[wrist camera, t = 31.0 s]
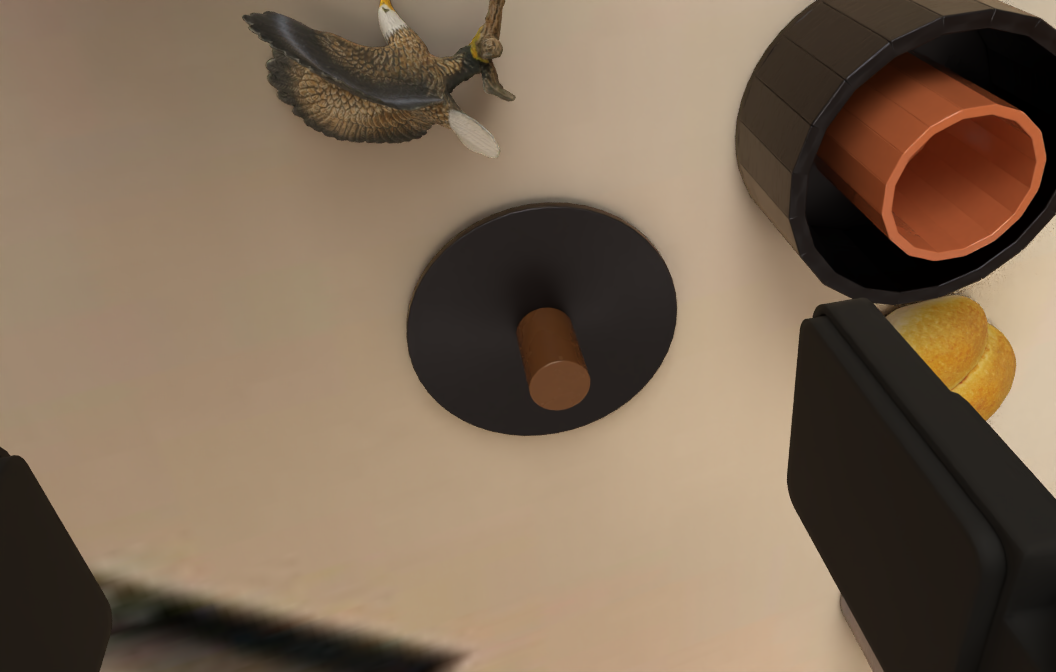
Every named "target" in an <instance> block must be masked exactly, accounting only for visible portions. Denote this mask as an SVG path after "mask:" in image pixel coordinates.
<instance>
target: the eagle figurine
mask: <svg viewBox="0 0 1056 672" xmlns="http://www.w3.org/2000/svg"><path fill="white" fill-rule="evenodd" d="M504 4H505V0H490V1H489V9H488V13H487V16H486V18H485V20H486V23H485V24H484V25H483V26H482V27H480V28H479V30H478V32H477V34H476V35H475V37H474V38H473V39H472V42H471V43H470V44H469V45H468V46H465V47H464V48H461V49H460V50H459V51H458V52H457V53H456V54H455V55H454V56H451V57H443V58H439V57H435V56H433V55H431V54H430V53H429V52H428V49H427V47H426V46H425V44H424V43H423V41H422V40H421V39H420V38H419V36H418V35H417V34H416V33H415V32H414V31H413V30H411V28H410V27H409V26H408V25H407V24H406V23H405V22H404V21H403V20H402V19H401V18H400V17H399V16H398V14H397V13H396V12H395V10H394V9H393V8H392V6H391V3H390V0H381V1H380V7H379V9H378V18H379V26H380V29H381V31H382V34H383V36H384V39H385V41H386V44H387V46H383V47H367V46H362V45H358V44H356V43H353V42H351V41H348V40H346V39H344V38H342V37H340V36H337V35H335V34H332V33H328V32H323V31H317V30H313V29H310V28H308V27H307V26H306V25H304V24H302V23H301V22H298V21H296V20H294V19H292V18H289V17H287V16H284V15H282V14H278V13H276V12H270V11H266V12H264V13H263V14H260V13H251V14H250V15H243V16H242V18H243V20H244V21H245V22H246V23H248V24H249V27H248V28H249V30H251V31H252V32H253V33H255V34H257V35H258V38H259V39H261V40H263V41H265V42H268V43H269V44H270V47H271V48H272V54H273V57H274V59H271V60H269V61H268V62H267V63H266V68H267V69H268V70H269V71H270V74H269V75H268V76H267V79H268V81H269V83H270V84H271V85H272V86H274V87H275V88H276V89H277V90H278V92H277V97H278V98H279V99H280V100H281V101H282V102H284V103H286V104H289V105H292V106H294V108H293V110H292V112H293V113H294V114H295V115H296V116H299V117H302V118H303V119H304V120H303V121H304V123H305V124H306V125H307V126H310V127H312V128H313V129H314V130H316V131H318V132H323V134H324V135H325V136H328V137H335V138H336V139H337V140H341V141H344V140H348V141H351V142H359V143H360V142H364V141H366V142H367V143H384V142H387V143H402V142H409V141H411V140H412V139H419V138H421V137H422V135H425V134H427V130H429V129H430V128H431V127H432V125H434V124H438V125H441V126H443V127H445V128H448V129H451V130H452V131H454V132H455V133H456V135H457V136H458V138H459V139H460V141H461V142H462V143H463V144H464V145H465V146H466V147H467V148H468V149H470V150H471V151H473V152H477V153H480V154H482V155H485V156H487V157H489V158H491V157H492V158H498V155H499V154H500V147H499V145H498V143H497V142H496V140H495V139H494V136H493V135H492V134H491V133H490V132H489V131H488V130H487V129H486V128H484V127H483V126H482V125H481V124H480V123H478V122H477V121H476V120H475V119H473V118H472V117H471V116H469V115H467V114H465V113H464V112H463V111H462V110H461V109H460V107H459V106H458V105H457V104H456V102H455V101H454V99H453V98H452V97H451V95H450V93H452V91H453V89H454V88H455V87H456V86H457V85H459V84H460V83H462V82H463V81H467V80H468V79H469V78H471V77H473V76H474V75H475V74H480V73H482V78H483V88H484V91H485V92H486V93H488V94H493V95H495V96H497V97H499V98H501V99H503V100H506V101H513V100H515V98H516V97H515V96H514V95H513V94H511V93H510V92H508V91H506V90H505V89H503V86H502V85H501V84H500V83H499V81H498V75H497V73H496V70H495V67H494V64H493V62H492V59H493V58H497V57H500V56H501V54H502V51H503V47H502V45H501V43H500V42H499V36H500V29H501V20H502V9H503V6H504Z"/></svg>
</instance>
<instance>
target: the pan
mask: <svg viewBox="0 0 1056 672" xmlns="http://www.w3.org/2000/svg"><path fill="white" fill-rule="evenodd" d="M910 50H912V51H914V52H917V53H918V54H921V55H924V56H927V57H928V58H930V59H932V60H934V61H935V62H937V63H939V64H941V65H942V66H944V67H946V68H948V69H949V70H951V71H953V72H955V73H956V74H958V75H960V76H962V77H963V78H965V79H967V80H969V81H970V82H972V83H974V84H976V85H977V86H979V87H981V88H983V89H984V90H986V91H988V92H990V93H991V94H993V95H995V96H997V97H998V98H1000V99H1002V100H1004V101H1005V102H1007V103H1009V104H1011V105H1012V106H1014V107H1016V108H1018V109H1019V110H1021V111H1023V112H1024V113H1025V114H1026V115H1027V116H1028V117H1029V118H1030V119H1031V120H1032V121H1033V123H1034V124H1035V125H1036V126H1037V127H1038V128H1039V129H1040V130H1041V132H1042V137H1043V143H1044V148H1045V153H1046V163H1045V167H1044V171H1043V175H1042V179H1041V183H1040V187H1039V189H1038V191H1037V193H1036V194H1035V196H1034V197H1033V199H1032V201H1031V202H1030V204H1029V205H1028V207H1027V208H1026V210H1025V212H1024V213H1023V215H1022V216H1021V217H1020V219H1019V220H1017V221H1016V222H1015V223H1014V224H1013V225H1012V226H1011V227H1010V228H1009V229H1007V230H1006V231H1005V232H1004V233H1003V234H1002V235H1001V236H1000V237H999V238H997V239H996V240H994V242H992V243H990V244H988V245H986V246H984V247H982V248H980V249H978V250H976V251H974V252H972V253H970V254H968V255H966V256H962V257H957V258H951V259H945V260H939V261H932V260H927V259H922V258H918V257H913V256H909V255H907V254H906V253H905V252H904V251H902V250H901V249H900V248H899V247H898V246H897V245H896V244H894V243H893V242H892V241H891V240H890V239H889V238H888V237H887V236H886V235H885V234H884V233H883V232H882V231H880V230H879V229H878V228H877V227H876V226H875V225H874V224H873V223H872V222H871V221H870V220H869V219H868V218H867V217H866V216H865V215H864V214H863V213H862V212H861V211H860V210H859V209H858V208H857V207H856V206H855V205H854V204H853V203H852V202H851V201H850V200H848V199H847V198H846V197H845V196H844V195H843V194H842V193H841V192H840V191H839V190H838V189H837V188H836V187H835V186H834V185H833V184H832V183H831V182H830V181H829V180H828V179H827V178H826V177H825V176H824V175H823V174H822V173H821V172H820V171H819V170H818V169H817V167H816V166H815V165H814V163H813V162H814V159H815V157H816V154H817V152H818V149H819V147H820V144H821V142H822V139H823V137H824V134H825V132H826V129H827V128H828V127H829V125H830V124H831V123H832V121H833V120H834V119H835V117H836V116H837V115H838V113H839V112H840V111H841V109H842V108H843V107H844V105H845V104H846V103H847V101H848V100H849V98H850V97H851V96H852V94H853V93H854V92H855V90H856V89H858V88H859V87H860V86H861V85H863V84H864V83H865V82H866V81H867V80H869V79H870V78H871V77H872V76H873V75H875V74H876V73H877V72H878V71H880V70H881V69H882V68H883V67H884V66H886V65H887V64H888V63H889V62H890V61H892V60H893V59H894V58H895V57H897V56H899V55H901V54H904V53H906V52H908V51H910ZM735 137H736V155H737V161H738V166H739V170H740V173H741V176H742V179H743V182H744V184H745V186H746V188H747V190H748V192H749V195H750V197H751V198H752V199H753V200H754V202H755V203H756V204H757V205H758V206H759V208H760V209H761V210H762V211H763V212H764V214H765V215H766V216H767V217H768V219H769V220H770V221H771V222H772V223H773V225H774V226H775V227H776V228H777V229H778V231H779V232H780V233H781V234H782V236H783V237H784V238H785V239H786V240H787V242H788V243H789V244H790V245H791V246H792V248H793V249H794V250H795V251H796V253H797V254H798V255H799V256H800V257H801V259H802V260H803V261H804V262H805V263H806V265H807V266H808V267H809V268H810V269H811V270H812V272H813V273H814V274H815V275H816V276H817V278H818V279H819V280H820V281H821V282H822V284H824V285H826V286H828V287H830V288H832V289H834V290H836V291H838V292H840V293H842V294H844V295H846V296H848V297H850V298H852V299H856V298H867V299H869V300H870V301H871V302H872V303H878V304H887V305H901V304H907V303H913V302H919V301H925V300H930V299H936V298H938V297H943V296H945V295H947V294H949V293H952V292H954V291H956V290H959V289H961V288H963V287H966V286H968V285H970V284H973V283H975V282H977V281H980V280H981V278H982V279H983V278H985V277H986V276H988V275H989V274H990V273H992V272H993V271H995V270H996V269H997V268H999V267H1000V266H1001V265H1003V264H1004V263H1006V262H1007V261H1008V260H1010V259H1011V258H1013V257H1014V256H1015V255H1017V254H1018V253H1020V252H1021V250H1023V249H1024V248H1025V247H1026V246H1027V245H1028V244H1029V243H1030V242H1031V241H1032V240H1033V239H1034V238H1035V236H1036V235H1037V234H1038V233H1039V232H1040V231H1041V230H1042V229H1043V228H1044V227H1045V226H1046V224H1047V223H1048V222H1049V221H1050V220H1051V219H1052V218H1053V217H1054V216H1055V214H1056V29H1054V28H1053V27H1052V26H1051V25H1049V24H1048V23H1047V22H1045V21H1044V20H1043V19H1041V18H1039V17H1037V16H1034V15H1032V14H1029V13H1027V12H1025V11H1022V10H1020V9H1017V8H1015V7H1013V6H1010V5H1008V4H1005V3H1003V2H1000V1H998V0H817V1H816V2H814V3H813V4H811V5H810V6H808V7H807V8H806V9H805V10H804V11H802V12H801V13H800V14H799V15H797V16H796V17H795V18H794V19H793V20H792V21H791V22H790V23H789V24H788V25H787V26H786V27H785V28H784V29H783V30H782V31H781V32H780V33H779V34H778V36H777V37H776V38H775V39H774V41H773V42H772V43H771V45H770V46H769V47H768V48H767V50H766V51H765V53H764V54H763V56H762V58H761V59H760V61H759V62H758V64H757V65H756V67H755V69H754V71H753V73H752V76H751V78H750V80H749V82H748V84H747V87H746V89H745V92H744V95H743V98H742V101H741V105H740V109H739V113H738V118H737V126H736V136H735Z"/></svg>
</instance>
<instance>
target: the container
mask: <svg viewBox="0 0 1056 672" xmlns="http://www.w3.org/2000/svg"><path fill="white" fill-rule="evenodd" d="M813 163H814V165H815V166H816V167H817V169H818V170H819V171H820V172H821V173H822V174H823V175H824V176H825V177H826V178H827V179H828V180H829V181H830V182H831V183H832V184H833V185H834V186H835V187H836V188H837V189H838V190H839V191H840V192H841V193H842V194H843V195H844V196H845V197H846V198H847V199H848V200H850V201H851V202H852V203H853V204H854V205H855V206H856V207H857V208H858V209H859V210H860V211H861V212H862V213H863V214H864V215H865V216H866V217H867V218H868V219H869V220H870V221H871V222H872V223H873V224H874V225H875V226H876V227H877V228H878V229H879V230H880V231H882V232H883V233H884V234H885V235H886V236H887V237H888V238H889V239H890V240H891V241H892V242H893V243H894V244H896V245H897V246H898V247H899V248H900V249H901V250H902V251H904V252H905V253H906V254H907V255H909V256H913V257H918V258H922V259H927V260H932V261H939V260H945V259H951V258H957V257H962V256H966V255H968V254H970V253H972V252H974V251H976V250H978V249H980V248H982V247H984V246H986V245H988V244H990V243H992V242H994V240H996V239H997V238H999V237H1000V236H1001V235H1002V234H1003V233H1004V232H1005V231H1006V230H1007V229H1009V228H1010V227H1011V226H1012V225H1013V224H1014V223H1015V222H1016V221H1017V220H1019V219H1020V217H1021V216H1022V215H1023V213H1024V212H1025V210H1026V208H1027V207H1028V205H1029V204H1030V202H1031V201H1032V199H1033V197H1034V196H1035V194H1036V193H1037V191H1038V189H1039V187H1040V183H1041V179H1042V175H1043V171H1044V167H1045V163H1046V153H1045V148H1044V143H1043V137H1042V132H1041V130H1040V129H1039V128H1038V127H1037V126H1036V125H1035V124H1034V123H1033V121H1032V120H1031V119H1030V118H1029V117H1028V116H1027V115H1026V114H1025V113H1024V112H1023V111H1021V110H1019V109H1018V108H1016V107H1014V106H1012V105H1011V104H1009V103H1007V102H1005V101H1004V100H1002V99H1000V98H998V97H997V96H995V95H993V94H991V93H990V92H988V91H986V90H984V89H983V88H981V87H979V86H977V85H976V84H974V83H972V82H970V81H969V80H967V79H965V78H963V77H962V76H960V75H958V74H956V73H955V72H953V71H951V70H949V69H948V68H946V67H944V66H942V65H941V64H939V63H937V62H935V61H934V60H932V59H930V58H928V57H927V56H924V55H921V54H918V53H917V52H914V51H912V50H910V51H908V52H906V53H904V54H901V55H899V56H897V57H895V58H894V59H893V60H892V61H890V62H889V63H888V64H887V65H886V66H884V67H883V68H882V69H881V70H880V71H878V72H877V73H876V74H875V75H873V76H872V77H871V78H870V79H869V80H867V81H866V82H865V83H864V84H863V85H861V86H860V87H859V88H858V89H856V90H855V92H854V93H853V94H852V96H851V97H850V98H849V100H848V101H847V103H846V104H845V105H844V107H843V108H842V109H841V111H840V112H839V113H838V115H837V116H836V117H835V119H834V120H833V121H832V123H831V124H830V125H829V127H828V128H827V129H826V132H825V134H824V137H823V139H822V142H821V144H820V147H819V149H818V152H817V154H816V157H815V159H814V162H813Z"/></svg>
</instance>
